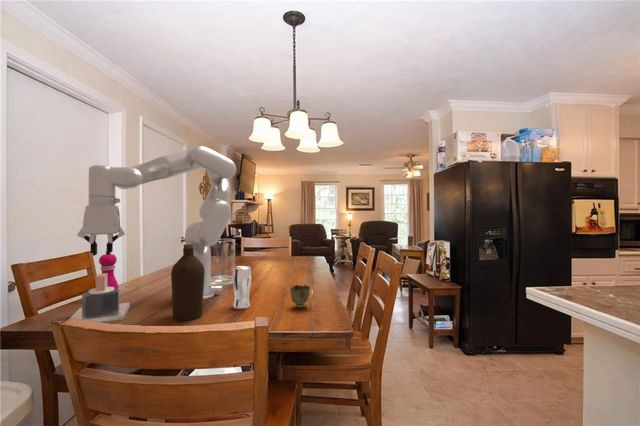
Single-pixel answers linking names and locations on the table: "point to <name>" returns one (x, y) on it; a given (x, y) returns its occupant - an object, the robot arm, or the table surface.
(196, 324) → the table surface
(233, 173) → the robot arm
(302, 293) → the cup
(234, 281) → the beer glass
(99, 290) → the beige blocky piece
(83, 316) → the grey tub on base
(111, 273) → the pepper mill
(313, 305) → the table surface
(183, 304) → the olive oil
